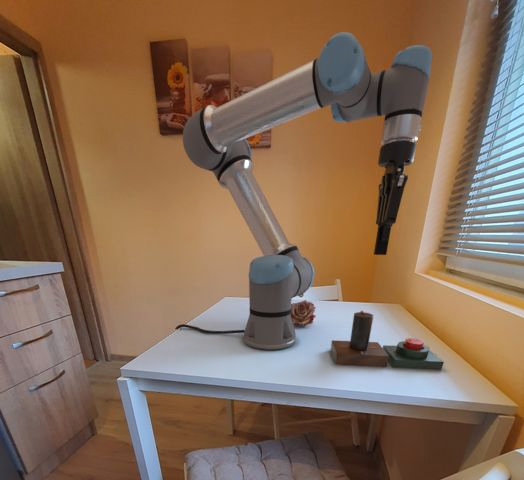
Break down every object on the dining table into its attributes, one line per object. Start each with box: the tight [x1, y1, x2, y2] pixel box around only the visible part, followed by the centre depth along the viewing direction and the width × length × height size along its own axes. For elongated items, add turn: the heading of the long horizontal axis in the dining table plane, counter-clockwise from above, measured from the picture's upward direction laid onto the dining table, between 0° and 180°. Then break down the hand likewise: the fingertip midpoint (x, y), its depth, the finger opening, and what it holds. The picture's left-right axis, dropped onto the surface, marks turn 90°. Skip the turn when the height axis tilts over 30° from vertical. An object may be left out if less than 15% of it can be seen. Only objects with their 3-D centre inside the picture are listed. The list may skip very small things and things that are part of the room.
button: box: [404, 337, 425, 350], centre depth 68 cm, size 4×4×2 cm
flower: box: [291, 299, 317, 328], centre depth 95 cm, size 10×9×8 cm
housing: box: [382, 340, 445, 371], centre depth 69 cm, size 11×9×4 cm
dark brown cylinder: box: [349, 310, 374, 351], centre depth 68 cm, size 4×4×9 cm
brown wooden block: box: [330, 339, 389, 368], centre depth 70 cm, size 12×9×3 cm
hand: (379, 254), depth 72 cm, fingers closed
